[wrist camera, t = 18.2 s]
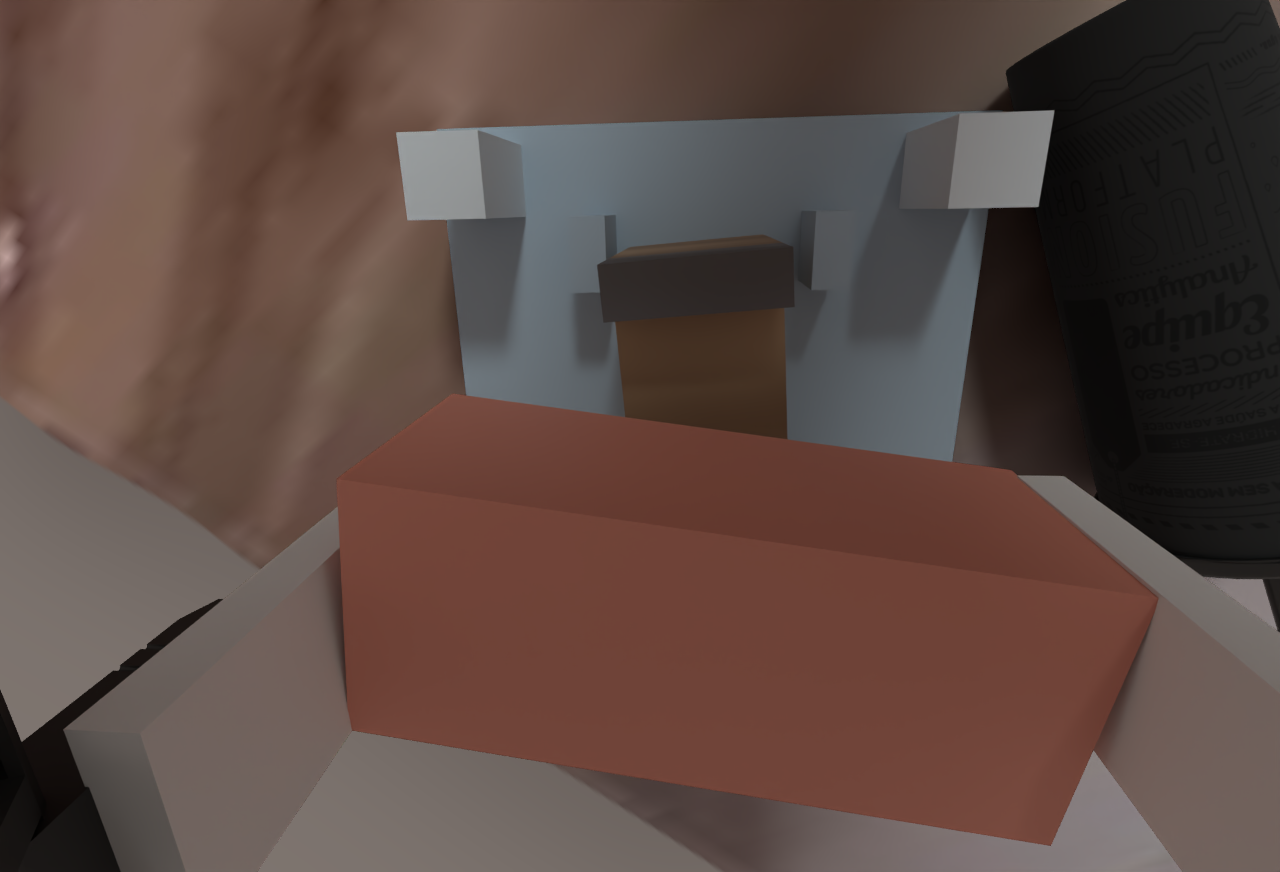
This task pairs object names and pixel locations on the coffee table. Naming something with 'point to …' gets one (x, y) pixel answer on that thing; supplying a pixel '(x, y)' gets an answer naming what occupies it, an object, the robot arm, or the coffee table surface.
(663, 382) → the brown blocky piece
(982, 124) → the jig
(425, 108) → the coffee table surface
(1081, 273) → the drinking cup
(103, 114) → the coffee table surface
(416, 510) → the red rectangular block
